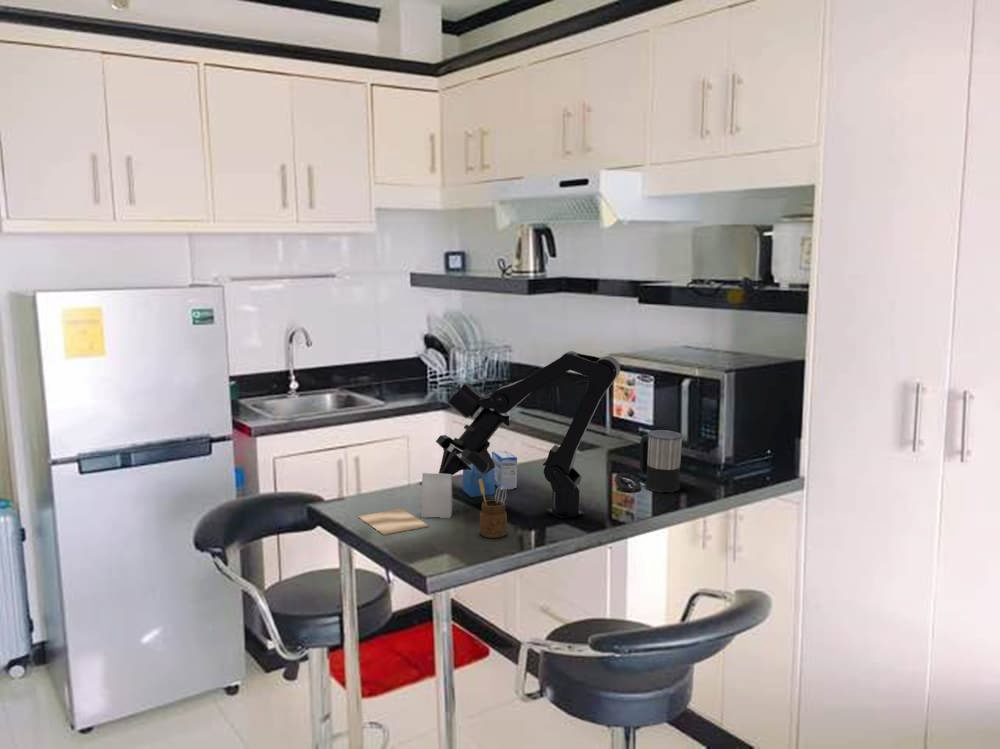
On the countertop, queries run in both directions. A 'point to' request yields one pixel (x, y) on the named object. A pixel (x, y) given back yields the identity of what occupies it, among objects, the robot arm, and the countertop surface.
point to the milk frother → (657, 462)
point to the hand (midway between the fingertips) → (438, 481)
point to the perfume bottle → (472, 482)
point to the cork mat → (393, 521)
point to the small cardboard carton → (436, 495)
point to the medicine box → (505, 469)
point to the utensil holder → (492, 516)
